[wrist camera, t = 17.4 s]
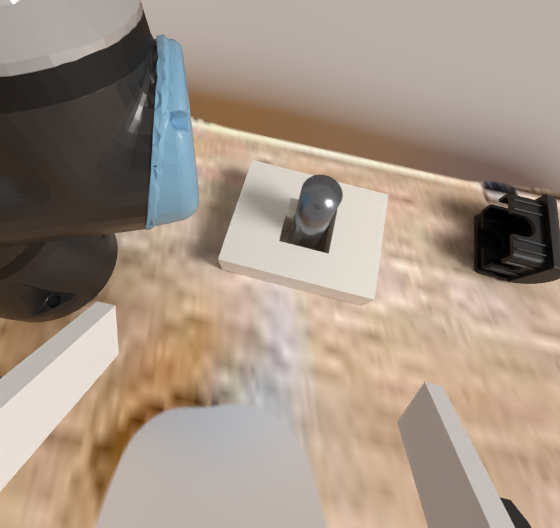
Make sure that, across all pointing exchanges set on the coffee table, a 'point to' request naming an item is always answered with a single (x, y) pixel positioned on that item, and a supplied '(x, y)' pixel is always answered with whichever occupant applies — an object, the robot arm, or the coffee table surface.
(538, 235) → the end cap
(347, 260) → the socket block
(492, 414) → the coffee table surface
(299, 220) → the pin
